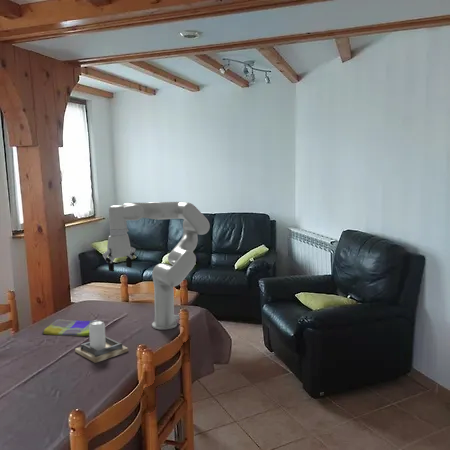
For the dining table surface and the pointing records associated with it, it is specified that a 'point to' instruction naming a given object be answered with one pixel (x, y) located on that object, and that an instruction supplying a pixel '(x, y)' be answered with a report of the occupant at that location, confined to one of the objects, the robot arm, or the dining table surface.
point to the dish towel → (68, 328)
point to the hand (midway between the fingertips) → (120, 269)
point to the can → (97, 335)
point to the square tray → (96, 356)
